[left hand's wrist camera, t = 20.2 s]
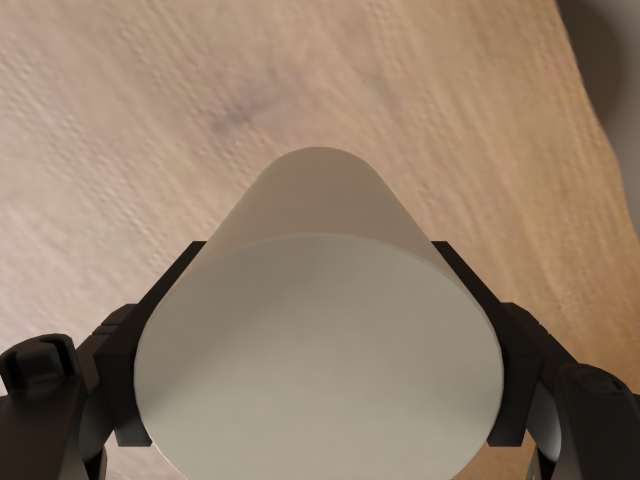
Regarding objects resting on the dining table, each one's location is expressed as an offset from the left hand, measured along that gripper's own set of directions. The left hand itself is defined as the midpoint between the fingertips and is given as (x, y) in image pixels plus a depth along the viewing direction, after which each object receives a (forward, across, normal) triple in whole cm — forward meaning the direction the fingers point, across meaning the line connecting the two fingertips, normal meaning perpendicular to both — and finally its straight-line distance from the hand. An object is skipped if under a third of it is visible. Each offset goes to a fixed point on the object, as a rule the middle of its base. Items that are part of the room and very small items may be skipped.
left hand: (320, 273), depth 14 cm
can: (+6, 0, 0) cm, 6 cm away
